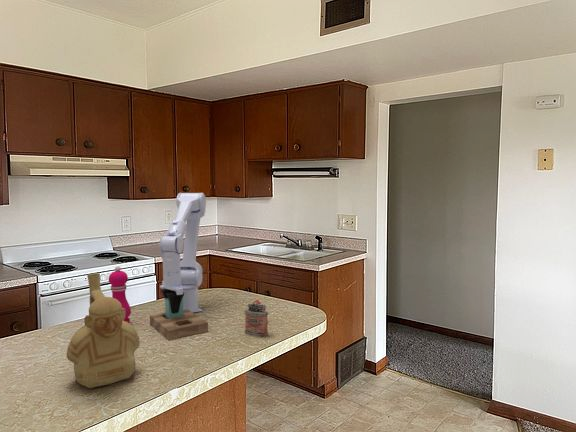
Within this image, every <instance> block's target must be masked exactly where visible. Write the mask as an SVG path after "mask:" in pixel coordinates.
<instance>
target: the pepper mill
mask: <svg viewBox="0 0 576 432" xmlns="http://www.w3.org/2000/svg"><path fill="white" fill-rule="evenodd" d="M128 279H129V277H128V274H127V272H125V271H123V270H122V269H121V266H115V268H114V271H112V272H111V273H110V274H109V276H108V283H109V284H110V291H111V292H112V294H111V295H112V298H115V299H117V300H118V301H119V302H120V303H121V305H122V308H124V309H125V310H126V315H125V319H124V320H123V321H126V322H128V323H129V324H131V322H130V321H131V320H130V316H131V313H132V308H131V306H130V303H129V301H128V300H127V296H126V290H127V283H128Z"/></svg>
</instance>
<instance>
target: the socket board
mask: <svg viewBox="0 0 576 432" xmlns="http://www.w3.org/2000/svg"><path fill="white" fill-rule="evenodd" d="M183 314H184V316H180V317H175V318H170V319H166V316H165V312H162V313H155V314H149V325H150V326H152V327H153V328H154V329H155V331H157V332H159V334H161V335H162V336H163V337H164V338H166V339H167V340H168V341H170V340H176V339H179V338H186V337H189V336H194V335H198V334H203V333H207V332H209V323H208V321H207V320H205V319H203V318H202V317H201V316H198V315H196V314H195V312H194V313H192V312H191V311H189V310H187V309H183Z"/></svg>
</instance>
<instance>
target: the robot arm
mask: <svg viewBox="0 0 576 432" xmlns="http://www.w3.org/2000/svg"><path fill="white" fill-rule="evenodd" d="M176 206H177V212H176V215H175V219H173V220H171V221H170V223H169V226H168V229H167V230H166V233H165V235H164V236H162V237H160V240H159V245H158V248H159V252H160V258H161V260H162V278H163V280H162V281H161V285H159V288H160V292H161V294H162V296H163V298H164V300H165V298H168V299H169V301H170V307H171V312H172V313H178V312H179V308H180V303H181V300H182V298H183V309H187V310H189V311H191V312H192V313H194V314H195V313H200V312H202V311H203V309H202V308H200V307H199V287H200V286H201V285H202V283H203V278H204V277H203V266H202V265H201V264H200V263H199V262H197V261H196V258H197V253H198V252H197V250H198V241H199V231H200V230H199V229H200V225H201V224H200V222H201V218H203V217H205V213H206V207H207V198H206V194H204V192H178V194H177V196H176ZM181 253H182V259H181Z"/></svg>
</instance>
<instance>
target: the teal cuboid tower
mask: <svg viewBox="0 0 576 432" xmlns="http://www.w3.org/2000/svg"><path fill="white" fill-rule="evenodd" d="M164 304H165V305H164V306H165V307H164V309H165V311H164V313H165V316H166V319H170V318H175V317H180V316H184V314H183V298H182V300H181V303H180V308H179V312H178V313H172V312H171V307H170V301H169V299H168V298H165V299H164Z"/></svg>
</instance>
